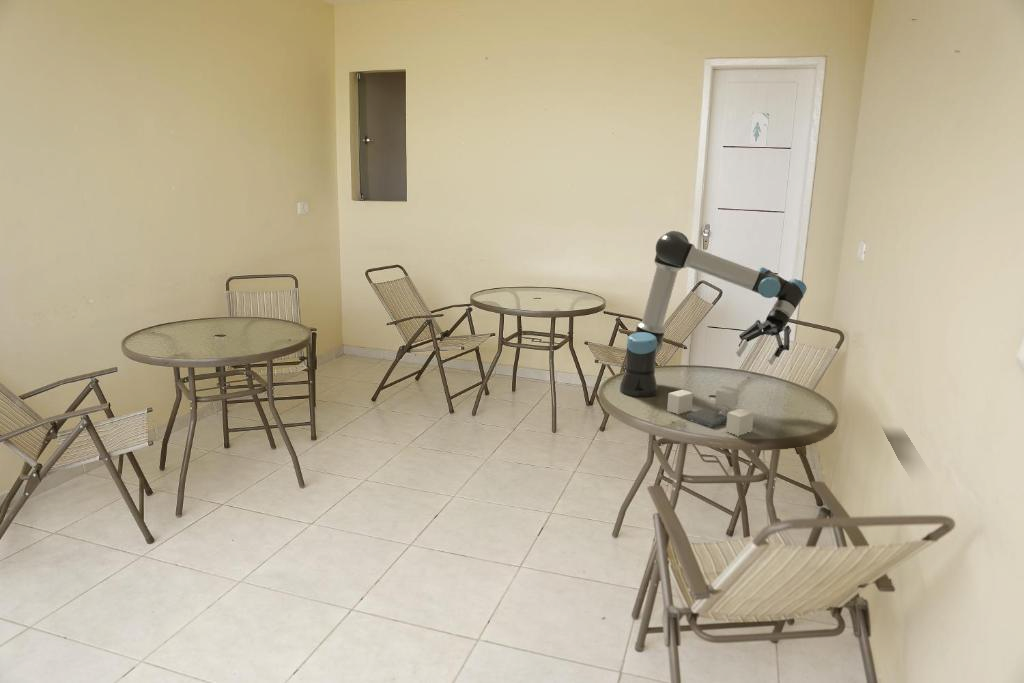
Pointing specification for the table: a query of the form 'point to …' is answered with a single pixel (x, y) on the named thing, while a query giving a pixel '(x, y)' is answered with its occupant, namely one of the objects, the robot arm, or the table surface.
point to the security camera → (727, 398)
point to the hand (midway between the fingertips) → (753, 358)
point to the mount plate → (707, 418)
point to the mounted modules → (736, 420)
